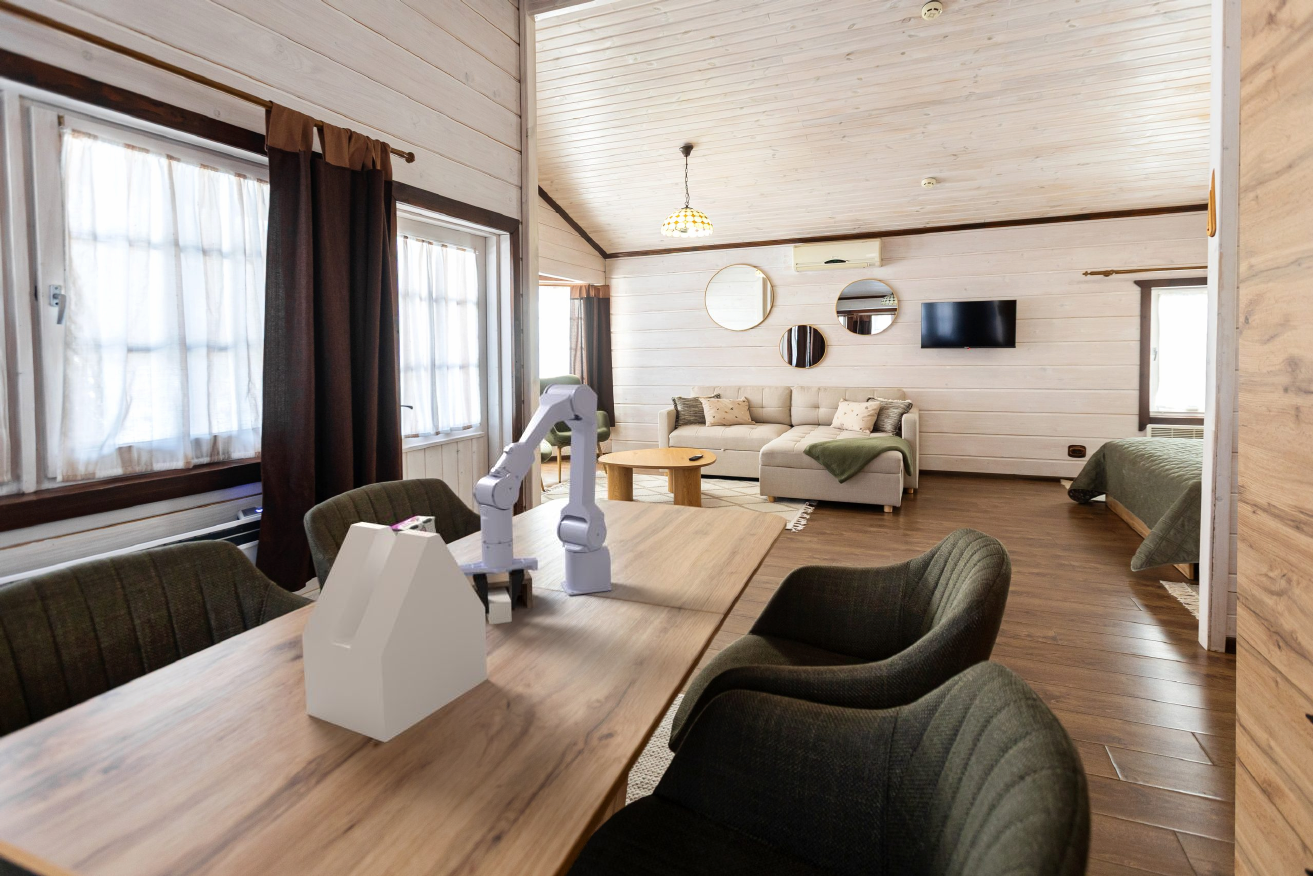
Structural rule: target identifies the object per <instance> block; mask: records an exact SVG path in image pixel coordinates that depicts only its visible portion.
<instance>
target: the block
mask: <svg viewBox="0 0 1313 876" xmlns="http://www.w3.org/2000/svg"><path fill="white" fill-rule="evenodd" d="M488 602H489V614H486V617H487V621H488V622H489V626H490V625H491V626H492V625H497V624H498V625H499V624H504V623H511V622H512V620H513V619H512V611H511V600H510V598H509V595H508V593H507V590H506V588H505V586H501V587H492V588H488Z"/></svg>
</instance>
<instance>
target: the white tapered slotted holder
mask: <svg viewBox="0 0 1313 876" xmlns="http://www.w3.org/2000/svg"><path fill="white" fill-rule="evenodd" d="M345 535H346V536H345V537H344V540H343V541H342V544H341V547H340V549H339V551H338V553H337V555H336V557H335V559H334V563H333V565H332V567H331V568H330V571H329V574H328V575H327V578H326V580H325V582H324V585H323V587H322V589H321V592H320V594H319V595H318V598H317V600H316V602H315V605H314V607H313V609H312V611H311V613H310V616H309V618H308V621H307V623H306V625H305V628H304V629H303V632H302V633H301V639H302V640H301V641H302V643H301V644H302V657H303V672H304V687H305V690H304V691H305V701H306V702H305V704H306V714H307V715H309V716H312V717H314V718H317V719H319V720H323V721H325V722H327V723H330V724H333V725H335V726H339V727H341V728H345V729H346V730H350V731H352V732H356V733H359V734H361V735H364V736H367V737H369V738H372V739H375V740H377V741H381V742H384V743H386V742H388V741H390V740H391V739H393V738H395V737H396V736H398V735H400V734H402V733H403V732H405V731H406V730H407V729H409V728H411V727H412V726H414V725H416V724H417V723H419V722H420V721H422V720H424V719H426V718H427V717H428V716H430V715H432V714H433V713H435V712H437V711H438V710H440V709H441V708H443V707H445V706H447V705H448V704H449V703H451V702H452V701H454V700H456V699H457V698H459V697H460V696H462V695H464V694H466V693H467V692H469V691H470V690H472V689H473V688H475V687H477V686H478V685H480V684H482V683H484V682H485V681H486V680H488V661H487V628H486V626H487V625H486V614H485V607H484V604H483V601H482V600H480V599H479V597H478V595H477V594H476V592H475V591H474V589H473V587H472V586H471V584H470V583H469V581H468V579H467V578H466V576H465V575H464V573H463V571H462V570H461V568H460V564H459V563H458V561H457V559H455V557H454V555H453V554H452V552H451V550H450V548H448V545H447V544H446V542H445V541H444V540H443V538H442V536H441V534H440V533H437V532H436V533H430V532H424V531H417V530H411V529H408V530H405V531H401V532H398V534H397V536H396V535H395V533H394V532H393V530H392V529H391V526H390V525H383V524H377V523H372V522H371V523H370V522H364V521H360V522H357V523H353V524H350V527H349V529H348V531H347V533H346V534H345Z"/></svg>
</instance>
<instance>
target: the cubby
mask: <svg viewBox="0 0 1313 876" xmlns="http://www.w3.org/2000/svg"><path fill="white" fill-rule="evenodd" d="M524 574H525V578H524V581H523V583H522V585H521V587H520V589H519V592H518V595H517V596H521V597H522V599H523V600H524V601H523V602H525V605H526V608H527V609H528V608H530V607H531V608H533V607H534V605H533V604H534V603H533V602H534V601H533V599H534V597H533V595H534V594H533V577H532V574H531V573H530V571H529V570H524ZM486 576H487V581H488V588H492V587H501V586H505V588H506V590H507V593H508V595H509V574H508V572H506V573H497V574H488V575H486ZM466 578H467V579H468V581H469V583H470V584H471V586H472V587H473V589H474V591H475V592H476V594H477V595H478V597H479V599H480V600H481V601H483V600H482V598H481V595H480V593H479V591H478V589H477V587H476V585H475V583H474V581H473V577H472V576H469V577H466Z"/></svg>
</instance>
